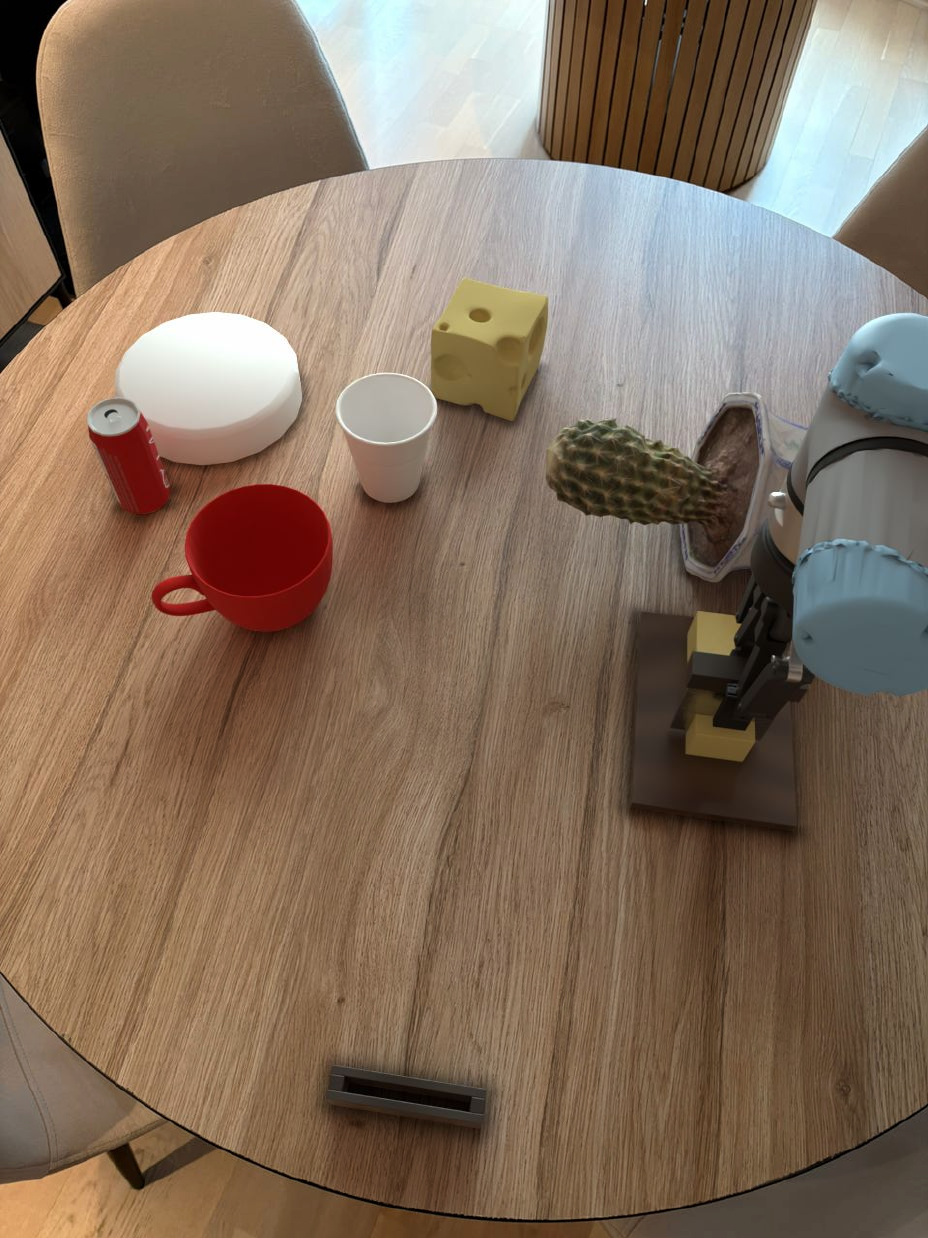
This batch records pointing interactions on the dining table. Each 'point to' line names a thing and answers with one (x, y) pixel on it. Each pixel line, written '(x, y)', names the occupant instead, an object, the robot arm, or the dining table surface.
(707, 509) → the potted plant
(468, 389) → the cheese
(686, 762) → the board
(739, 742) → the block
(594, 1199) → the dining table surface
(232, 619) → the ceramic cup
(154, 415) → the container
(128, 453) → the soda can
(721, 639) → the butter block
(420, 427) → the cup
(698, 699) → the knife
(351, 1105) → the knife block
